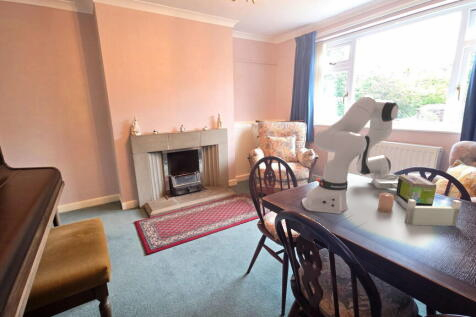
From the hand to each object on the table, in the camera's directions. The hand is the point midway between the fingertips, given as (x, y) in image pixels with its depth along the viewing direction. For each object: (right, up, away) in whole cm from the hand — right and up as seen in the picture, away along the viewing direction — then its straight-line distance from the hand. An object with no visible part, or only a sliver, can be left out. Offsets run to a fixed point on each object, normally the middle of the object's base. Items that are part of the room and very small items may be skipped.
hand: (402, 188), depth 124 cm
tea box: (0, -8, -7) cm, 11 cm away
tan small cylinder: (-17, -9, -11) cm, 22 cm away
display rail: (-6, -12, -25) cm, 28 cm away
